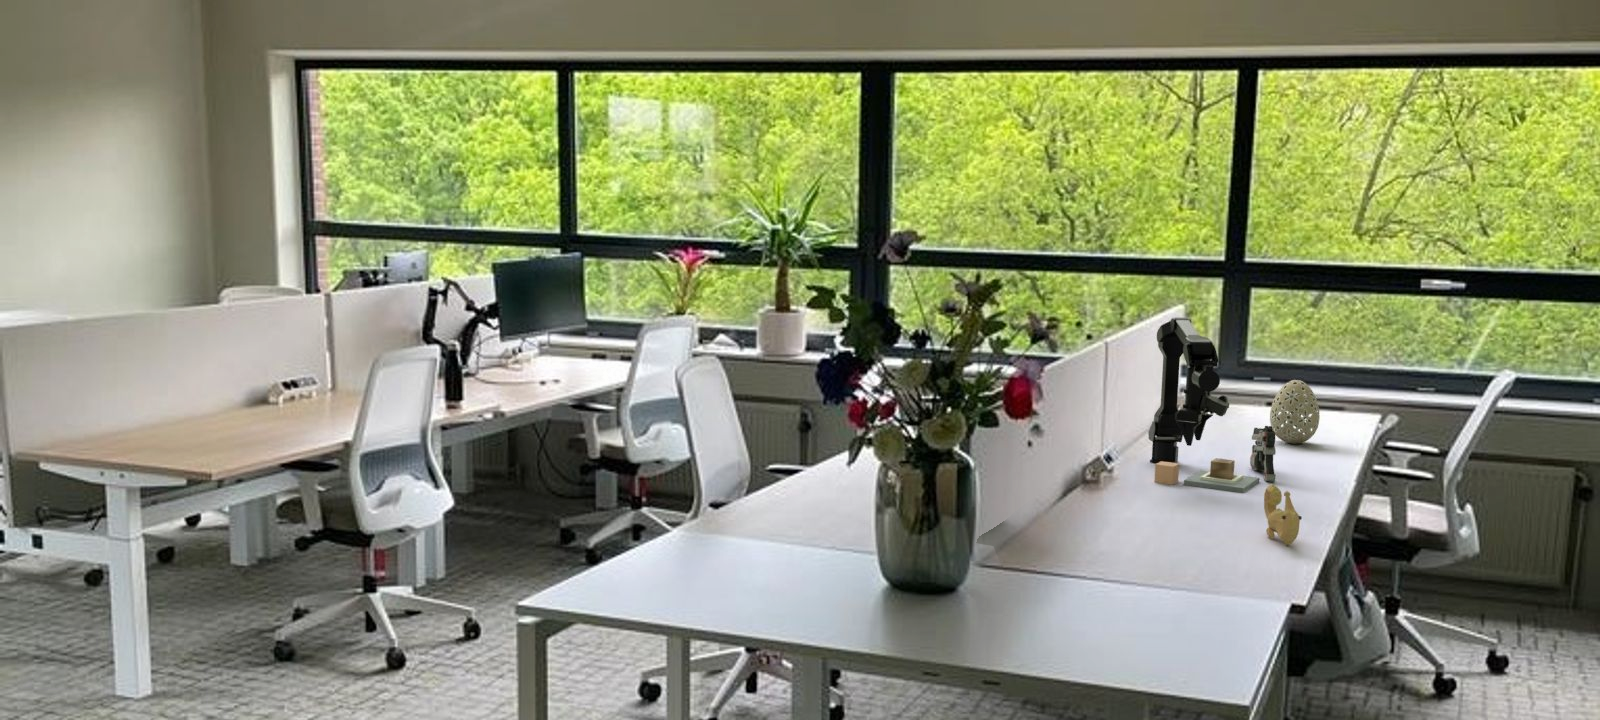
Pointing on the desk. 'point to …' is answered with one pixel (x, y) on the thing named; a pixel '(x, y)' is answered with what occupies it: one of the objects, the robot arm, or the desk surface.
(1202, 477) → the blueprint plate
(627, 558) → the desk surface
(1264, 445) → the toy blaster
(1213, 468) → the walnut block
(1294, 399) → the ornament
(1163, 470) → the terracotta block
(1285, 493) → the toy
